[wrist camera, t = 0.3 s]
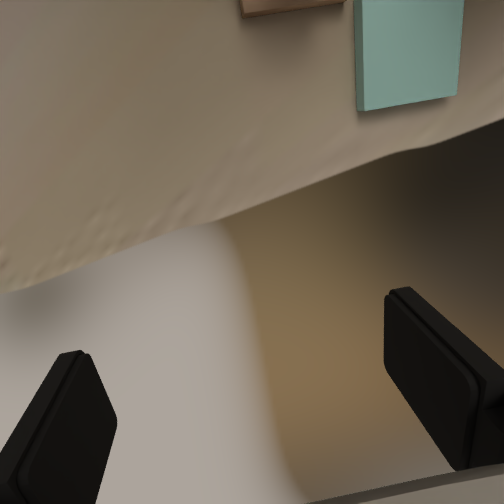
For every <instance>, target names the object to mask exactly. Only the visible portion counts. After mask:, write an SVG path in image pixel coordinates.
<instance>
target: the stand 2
mask: <svg viewBox="0 0 504 504" xmlns="http://www.w3.org/2000/svg"><path fill="white" fill-rule="evenodd" d="M463 10H464V0H354V30H355V64H356V99H357V111H368V110H374V109H380V108H385V107H391V106H397V105H402V104H408V103H414V102H420V101H425V100H431V99H437V98H442V97H448V96H454V95H457V86H458V73H459V60H460V48H461V35H462V23H463Z"/></svg>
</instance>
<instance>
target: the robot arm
mask: <svg viewBox="0 0 504 504" xmlns="http://www.w3.org/2000/svg"><path fill="white" fill-rule="evenodd" d="M384 365H385V368H386V371H387V373H388V374H389V376H390V377H391V379H392V380H393V382H394V383H395V384H396V386H397V387H398V389H399V390H400V391H401V393H402V395H403V396H404V398H405V399H406V401H407V402H408V404H409V405H410V407H411V408H412V410H413V411H414V413H415V414H416V416H417V417H418V418H419V420H420V421H421V423H422V424H423V426H424V427H425V429H426V430H427V432H428V433H429V435H430V436H431V438H432V439H433V441H434V442H435V444H436V445H437V446H438V448H439V449H440V451H441V453H442V454H443V455H444V457H445V458H446V460H447V461H448V463H449V464H450V466H451V467H452V468H453V469H454V470H455V471H457V472H452V473H447V474H441V475H436V476H432V477H427V478H421V479H416V480H412V481H407V482H403V483H398V484H394V485H389V486H384V487H380V488H376V489H370V490H366V491H361V492H357V493H353V494H347V495H343V496H338V497H334V498H329V499H325V500H320V501H315V502H311V503H307V504H504V369H503V368H501V367H500V366H499V365H498V364H497V363H496V362H495V361H493V360H492V359H491V358H490V357H489V356H488V355H487V354H486V353H485V352H483V351H482V350H481V349H480V348H479V347H478V346H477V345H476V344H474V343H473V342H472V341H471V340H470V339H469V338H468V337H466V336H465V335H464V334H463V333H462V332H461V331H460V330H459V329H457V328H456V327H455V326H454V325H453V324H451V323H450V322H449V321H448V320H447V319H446V318H445V317H444V316H443V315H441V314H440V313H439V312H438V311H437V310H436V309H435V308H434V307H432V306H431V305H430V304H429V303H428V302H427V301H426V300H425V299H423V298H422V297H421V296H420V295H419V294H418V293H417V292H416V291H414V290H413V289H412V288H411V287H403V288H397V289H392V290H390V292H389V295H386V296H385V299H384ZM116 429H117V417H116V414H115V411H114V409H113V407H112V405H111V402H110V400H109V397H108V395H107V393H106V391H105V388H104V386H103V383H102V381H101V379H100V376H99V374H98V372H97V369H96V367H95V365H94V363H93V360H92V358H91V356H90V355H89V354H85V353H84V352H83V351H82V350H77V351H73V352H67V353H62V354H60V355H59V356H58V358H57V360H56V361H55V362H54V364H53V366H52V367H51V369H50V371H49V372H48V374H47V376H46V377H45V379H44V381H43V382H42V384H41V386H40V387H39V389H38V391H37V392H36V394H35V396H34V398H33V399H32V401H31V403H30V404H29V406H28V407H27V409H26V411H25V412H24V414H23V416H22V417H21V419H20V421H19V422H18V424H17V426H16V428H15V429H14V431H13V433H12V434H11V436H10V437H9V439H8V441H7V442H6V444H5V446H4V447H3V449H2V451H1V452H0V504H95V503H96V499H97V496H98V492H99V489H100V485H101V482H102V478H103V475H104V471H105V468H106V464H107V460H108V457H109V454H110V450H111V446H112V443H113V439H114V436H115V432H116Z"/></svg>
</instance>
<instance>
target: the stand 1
mask: <svg viewBox="0 0 504 504" xmlns="http://www.w3.org/2000/svg"><path fill="white" fill-rule="evenodd" d="M345 1H346V0H240V6H241V14H242V18H249V17H255V16H261V15H267V14H274V13H280V12H286V11H292V10H299V9H305V8H311V7H318V6H324V5H330V4H336V3H343V2H345Z"/></svg>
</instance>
